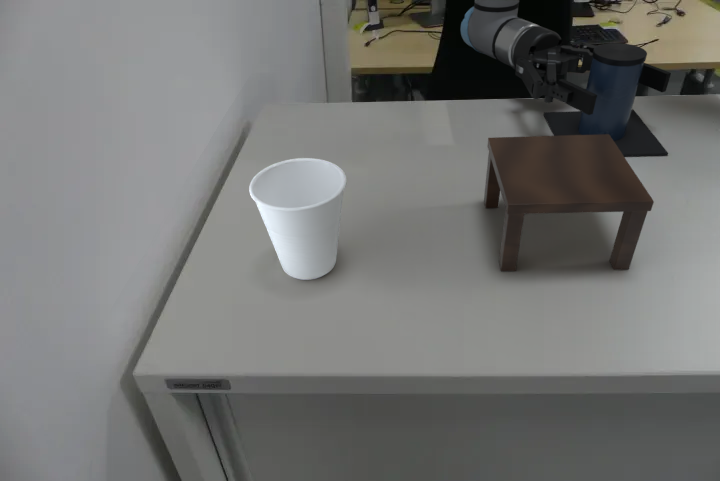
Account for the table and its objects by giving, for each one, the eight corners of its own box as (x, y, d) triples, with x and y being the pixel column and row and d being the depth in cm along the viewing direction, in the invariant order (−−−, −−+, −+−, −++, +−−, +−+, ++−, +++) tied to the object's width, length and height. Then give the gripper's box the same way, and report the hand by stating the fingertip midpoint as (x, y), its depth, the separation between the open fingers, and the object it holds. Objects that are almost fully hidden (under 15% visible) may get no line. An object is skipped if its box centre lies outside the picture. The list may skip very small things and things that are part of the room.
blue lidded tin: (617, 120, 86) (636, 41, 79) (632, 141, 81) (655, 59, 74) (572, 121, 87) (587, 43, 79) (584, 142, 81) (602, 61, 74)
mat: (632, 111, 89) (633, 109, 89) (667, 155, 78) (668, 153, 78) (543, 114, 90) (543, 112, 90) (565, 158, 79) (565, 155, 79)
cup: (250, 285, 61) (231, 202, 55) (286, 232, 69) (273, 153, 62) (336, 301, 59) (327, 215, 52) (363, 243, 66) (358, 162, 59)
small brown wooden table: (593, 197, 71) (609, 133, 65) (631, 270, 60) (654, 201, 54) (481, 200, 72) (488, 137, 66) (499, 272, 61) (508, 204, 55)
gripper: (583, 56, 99) (687, 98, 83) (464, 87, 91) (554, 140, 75) (592, 11, 94) (703, 48, 79) (467, 40, 86) (564, 87, 71)
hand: (630, 93), depth 77 cm, fingers open, 13 cm apart
